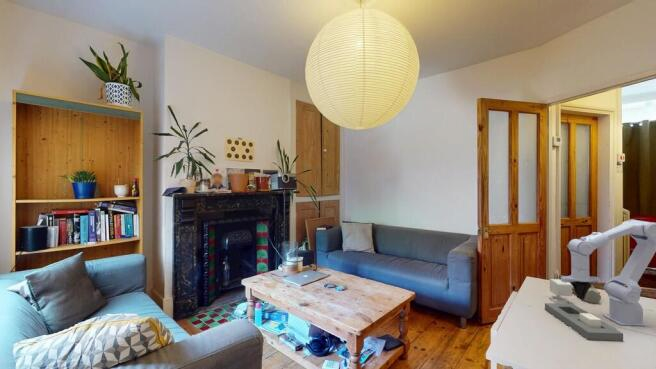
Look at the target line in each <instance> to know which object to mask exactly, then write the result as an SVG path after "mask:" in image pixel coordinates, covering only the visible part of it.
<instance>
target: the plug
mask: <svg viewBox="0 0 656 369" xmlns="http://www.w3.org/2000/svg"><path fill="white" fill-rule="evenodd" d="M579 316H580V322H582V323H583V324H585V325H586V326H588V327H590V328H601V321H602V319H601V318H599V317H597V316H595V315H593V314H592V313H590V312H587V313H579Z"/></svg>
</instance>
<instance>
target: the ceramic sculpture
mask: <svg viewBox="0 0 656 369" xmlns="http://www.w3.org/2000/svg"><path fill="white" fill-rule="evenodd" d="M572 293H575V294H576V292H575V290H574V288H573V286H572ZM600 294H601V293H600V292H599V291H598V290H597V288H595V286H594V285H593V284H591V287H590V288H589V290H588V291H587V293H586V295H585V298H584V299H582V300H583V301H585V302H586V303H590V304H591V303H592V304H597V303H599V302H600V300H601V299H602V295H600Z"/></svg>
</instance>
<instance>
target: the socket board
mask: <svg viewBox="0 0 656 369" xmlns="http://www.w3.org/2000/svg"><path fill="white" fill-rule="evenodd" d="M544 310H545V311H546V312H548V313H549V314H550V315H552V316H553V317H554V318H557V320H559V321H560V320H561V321H560V322H562V323H563V322H564V323H563V324H565V325H566V324H567V325H566V326H568V327H569V328H570V327H571V329H572V330H573V331H575V332H576V333H578V334H579V335H580V336H581V337H583V338H584V339H586V340H587V341H600V342H601V341H604V342H605V341H607V342H624V333H623V332H622V331H620V330H618V329H616V328H615V327H613V326H611V325H609V324H608V323H606V322H604V321H602V320H601V328H590V327H588V326H586V325H585V324H583V323H582V322H580V316H579V313H588V311H586V310H584V309H582V308H581V307H579V306H577V305H575V303H568V304H564V303H554V302H553V303H552V302H551V303H550V302H545V303H544Z"/></svg>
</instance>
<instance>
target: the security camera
mask: <svg viewBox="0 0 656 369" xmlns="http://www.w3.org/2000/svg"><path fill="white" fill-rule="evenodd" d="M572 287H573V286H572V284H571V283H570V282H567V283H564V282H562V281H561V278H560V279H559V278H558V279H557V278H555V279H554V278H550V279H549V291H550V292H551V293H552V294H554V295H549V296H548V299H549V300H550V301H552V302H553V303H559V304H569V302H568V299H565V298H564V297H565V296H566V297H572V296H573V291H572Z"/></svg>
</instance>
